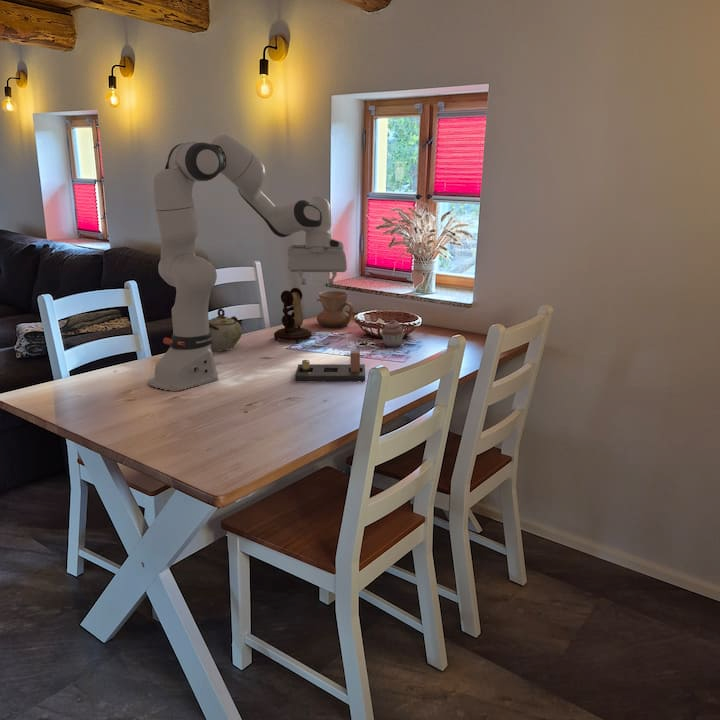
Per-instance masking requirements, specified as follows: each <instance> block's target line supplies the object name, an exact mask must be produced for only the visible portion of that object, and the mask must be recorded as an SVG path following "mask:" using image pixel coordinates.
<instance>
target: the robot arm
mask: <svg viewBox="0 0 720 720" xmlns="http://www.w3.org/2000/svg"><path fill="white" fill-rule="evenodd" d="M219 174H222V175H223V176H224V177H225V178H226V179H228V180H229V182H231V183H232V184H233V185H234V186H235V187H236V188H237V191H238V193H239V195H240V196H241V198H242V199H243V200H244V201H245V202H246V203H247V204H248V205H249V207H251V208H252V210H254V212H256V213H257V214H258V215H259V216H260V217H261V218H262V219H263V221H264V222H265V223H266V225H267V226H268V228H269V229H270V231H272V233H273V234H274V235H275V236H277V237H280V238H286V237H289V236H291V235H293V234H295V233H299V232H301V231H304V232H305V242H304V244H299V245H298V244H292V245H291V246H289V247H288V249H287V256H288V262H287V268H288V271H289V272H292V273H297V275H298V276H299V278H300V284H301V285H302V286H303V285H307V279H306V278H304V277H303V275H304V273H331V274H332V276H331V277H330V278H328V285H330V286H334V280H335V278H336V277H337V273H345V272H346V271H347V270H348V263H347V257H346V256H347V255H346V252H345V250H344V249H345V247H344V243H343V242H342V241H340V240H336V239H333V238H332V235H331V227H332V209H331V205H330V202H329V200H327V199H326V198H324V197H321V196H312V197H310V198H308V199H305V200H304V199H300V200H297V201H294V202H290V203H289V204H286V205H283V206H282V205H281V206H280V205H275V204H274V203H273V201H271V200H270V199H269V198H268V196H267V195H266V194H264V192H263V191H262V190H261V189H262V187H263V185H264V182H265V179H266V174H267V173H266V168H265V164H264V163H263V162H262V161H261V159H260V158H259V157H258V156H257V155H256V154H255V153H253V152H252V151H251V150H250V149H249V148H247V147H246V146H245V145H243V144H242V143H240V142H239V141H237V140H236V139H234V138H233V137H231V136H229V135H226V134H221V135H218V136H216V137H215V138H213V139H212V140H211V142H210V143H208V142H197V141H196V142H195V141H188V142H183V143H179V144H177V145H175V146H174V147H173V148H172V149H171V150H170V151H169V153H168V156H167V162H166V164H165V167H164V169H162V170H160V171H158V172H156V174H155V175H154V177H153V200H154V206H155V207H154V208H155V211H156V212H155V213H156V216H157V217H156V218H157V223H158V230H159V233H160V260H159V263H158V266H157V267H158V268H157V269H158V274H159V276H160V277H161V278H162V280H163V281H164V282H166V284H168V285H169V286H171V287H174V288H175V289H176V290H175V291H176V294H175V299H174V300H175V301H174V305H173V306H172V307H171V321H172V331H173V333H172V335H171V338H170V337H164V338H163V340H162V342H163V344H164V345H169V348H168V350H167V351H166V352H165V353H164V354H163V355H162V357H161V358H160V360H158V361H157V363H156V364H155V368H154V377H153V378H150V379H148V380H147V385H148V384H149V385H151V386H153V387H156V388H155V389H157V388H160V389H159V390H161V389H164V390H163V391H167V390H170V392H178V391H179V392H180V390H181V391H184V390H186V389H187V388H188V389H191V388H194V386H195V387H198V386H201V385H205V384H207V383H211V382H214V381H218V380H219V377H218V370H217V368H216V364H215V359H214V353H213V350H212V349H211V343H212V340H211V338H212V337H211V332H210V331H209V320H210V319H209V304H210V297H211V292H212V289H213V287H214V286H215V284H216V282H217V278H218V277H217V276H218V274H217V270H216V267H214V265H213V264H212V263H211V262H209V261H208V260H207V259H206V258H205V257H201V256H198V255H196V239H197V236H198V235H199V228H198V220H197V215H196V210H195V204H194V199H193V189H194V188H193V187H194V184H195V183H196V182H208V181H211V180H213V179H214V178H216V177H217V176H218V175H219ZM149 385H148V386H149ZM197 385H198V386H197ZM151 386H150V387H151ZM153 387H152V388H153ZM190 387H191V388H190ZM183 389H184V390H183ZM188 389H187V390H188Z"/></svg>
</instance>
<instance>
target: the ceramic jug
mask: <svg viewBox="0 0 720 720" xmlns="http://www.w3.org/2000/svg"><path fill="white" fill-rule="evenodd" d="M348 295H349V293H348V292H346V291H344V290H324V291H319V295H318V296H319V297H317V298H316V301H317V302H320V303H321V306H322V308H323V310H322V311H320V312H319V313H318V314H317V316H316V321H317V323H318V324H319V325H321V326H322V327H323V326H324V327H327V328H339V327H344V326H346V325H348V324H349V323H350V321H351V317H352V315H353V313H354V305H353V303H352V302H350V301H347V300H348ZM346 306H348V307H349V313H348V312H346V311H345V310H344V309H345V307H346Z"/></svg>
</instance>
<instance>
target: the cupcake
mask: <svg viewBox="0 0 720 720" xmlns="http://www.w3.org/2000/svg"><path fill="white" fill-rule="evenodd" d="M403 329H404V328H403V326H402V325H400V323H399V322H398V320H395V319H391V320H390V321H389V322H387V323H385V324H384V327H383V328H382V331H381V332H380V335H381V337H382V340H383V344H384V346H386V347H389V348H390V347H392V348H393V347H394V348H395V347H400V346H401V345H402V342H403V338H404V337H405V332H404V331H403Z"/></svg>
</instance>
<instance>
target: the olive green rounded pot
mask: <svg viewBox="0 0 720 720" xmlns="http://www.w3.org/2000/svg"><path fill="white" fill-rule="evenodd" d="M221 312H222V313H221ZM217 315H218V316H216V317H214V318H213V317H212V318H211V319H209V331H210V332H211V337H212V338H211V340H212V343H211V350H212V349H213V350H212V351H216V350H227V349H231V348H233V349H234V348H235V346H236V345H237V344H238V342H239V340H240V339H241V337H242V335H243V329H242V326H241V325H240V323H239V321H238V317H236V316H234V315H233V316H231V317H229V316H228V317H227V316H225V310H224V309H223V308H218V310H217ZM231 350H232V349H231ZM227 351H228V350H227Z"/></svg>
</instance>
